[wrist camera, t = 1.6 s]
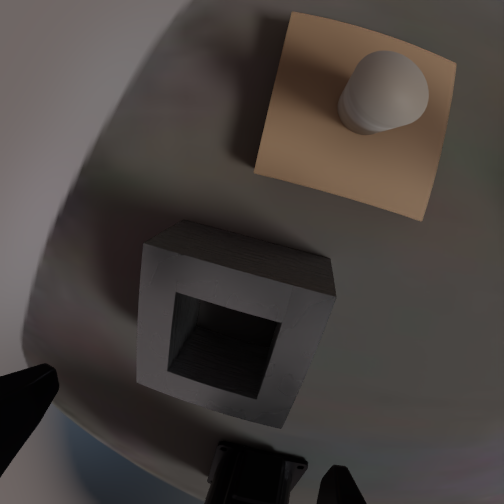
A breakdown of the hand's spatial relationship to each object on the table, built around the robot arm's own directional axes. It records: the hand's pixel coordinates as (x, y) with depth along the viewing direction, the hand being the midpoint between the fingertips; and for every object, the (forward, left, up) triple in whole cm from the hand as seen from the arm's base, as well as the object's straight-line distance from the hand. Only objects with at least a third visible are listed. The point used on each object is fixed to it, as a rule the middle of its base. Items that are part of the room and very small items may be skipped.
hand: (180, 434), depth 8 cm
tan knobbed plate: (+10, -3, -8) cm, 13 cm away
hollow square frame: (0, 0, -8) cm, 8 cm away
